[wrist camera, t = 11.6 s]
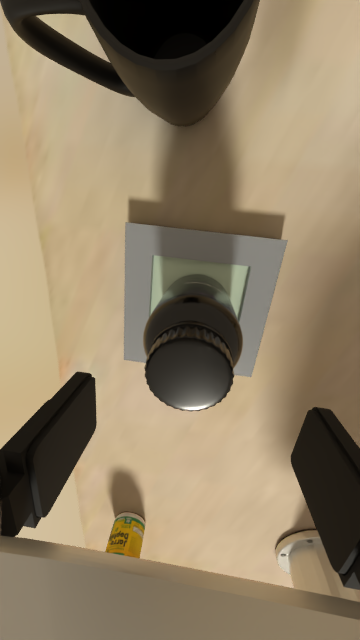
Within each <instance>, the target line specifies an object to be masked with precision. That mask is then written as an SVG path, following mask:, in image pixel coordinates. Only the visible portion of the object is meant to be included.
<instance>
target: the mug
mask: <svg viewBox="0 0 360 640" xmlns="http://www.w3.org/2000/svg"><path fill="white" fill-rule="evenodd" d="M0 2H1V5H2V8H3V11H4V14H5V16H6V18H7V20H8V21H9V23H10V25H11V26H12V28H13V30H14V31H15V32H16V33H17V34H18V36H19V37H20V38H21V39H22V40H24V41H25V42H26V43H27V44H28V45H29V46H31V47H32V48H33V49H35V50H36V51H38V52H39V53H41V54H42V55H44V56H46V57H48V58H49V59H51V60H53V61H55V62H57V63H58V64H60V65H62V66H64V67H66V68H68V69H70V70H72V71H74V72H76V73H78V74H80V75H82V76H84V77H86V78H88V79H90V80H92V81H94V82H96V83H98V84H100V85H102V86H104V87H106V88H108V89H110V90H113V91H115V92H117V93H120V94H123V95H126V96H130V97H136V98H137V99H138V100H139V101H140V102H141V103H142V104H143V105H144V106H145V107H146V108H147V109H148V110H150V111H151V112H152V113H154V114H156V115H157V116H159V117H161V118H162V119H164V120H165V121H167V122H169V123H170V124H173V125H176V126H188V125H192V124H195V123H196V122H198V121H200V120H201V119H202V118H203V117H204V116H205V115H207V114H208V112H209V111H210V109H211V108H212V107H213V106H214V105H215V104H216V103H217V101H218V100H219V98H220V97H221V95H222V94H223V92H224V91H225V90H226V88H227V86H228V85H229V83H230V81H231V80H232V78H233V76H234V74H235V72H236V69H237V67H238V65H239V63H240V61H241V58H242V56H243V54H244V51H245V49H246V46H247V44H248V41H249V39H250V35H251V31H252V28H253V24H254V20H255V17H256V13H257V9H258V6H259V2H260V0H0ZM44 14H79V15H85V16H86V18H87V20H88V22H89V23H90V25H91V27H92V29H93V31H94V33H95V35H96V37H97V38H98V40H99V42H100V44H101V46H102V48H103V50H104V51H105V53H106V55H107V57H108V59H109V60H110V62H111V63H109V62H107V61H105V60H103V59H101V58H100V57H98V56H96V55H94V54H92V53H91V52H89V51H87V50H86V49H84V48H82V47H81V46H79V45H77V44H76V43H74V42H72V41H71V40H69V39H68V38H66V37H65V36H63V35H62V34H60V33H58V32H57V31H55V30H54V29H53V28H51V27H50V26H48V25H47V24H45V23H44V22H43V21H41V20H40V19H39V18H38V17H36V15H44Z"/></svg>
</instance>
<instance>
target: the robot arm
mask: <svg viewBox="0 0 360 640" xmlns="http://www.w3.org/2000/svg"><path fill="white" fill-rule="evenodd" d="M95 429H96V392H95V378H94V377H92V375H91V374H90V373H84V372H76V373H75V374H74V375H73V376H72V377H71V378H70V379H69V381H68V382H67V383H66V384H65V385H64V386H63V387H62V388H61V389H60V390H59V391H58V392H57V393H56V394H55V395H54V396H53V397H52V398H51V399H50V400H48V401H47V402H46V403H45V404H44V405H43V406H42V407H41V408H40V409H39V410H38V411H37V412H36V413H35V414H34V415H33V416H32V417H31V418H30V419H29V420H28V421H27V422H26V423H25V424H24V426H22V428H21V429H20V430H19V431H18V432H17V433H16V434H15V435H14V436H13V437H12V438H11V439H10V440H9V441H8V442H7V443H6V444H5V445H4V446H3V447H2V448H1V449H0V640H360V448H359V447H358V446H357V444H356V443H355V442H354V440H353V439H352V438H351V436H350V435H349V434H348V432H347V431H346V430H345V428H344V427H343V426H342V424H341V423H340V422H339V420H338V419H337V417H336V416H335V415H334V413H333V412H332V411H331V410H329V409H324V408H318V407H314V408H313V409H312V410H309V411H308V412H307V415H306V418H305V420H304V423H303V426H302V428H301V431H300V433H299V436H298V439H297V441H296V444H295V447H294V449H293V452H292V454H291V464H292V467H293V469H294V472H295V475H296V477H297V480H298V482H299V485H300V487H301V490H302V493H303V495H304V498H305V500H306V503H307V505H308V508H309V510H310V513H311V516H312V518H313V521H314V523H315V526H316V528H317V530H308V531H302V532H298V533H295V534H292V535H290V536H288V537H286V538H285V539H283V540H282V541H281V542H280V543H279V544H278V546H277V548H276V552H275V553H276V558H277V562H278V565H279V566H280V567H281V569H283V570H284V571H285V572H286V573H288V574H290V575H291V578H292V582H293V586H294V588H289V587H284V586H279V585H274V584H269V583H264V582H259V581H254V580H249V579H243V578H238V577H233V576H228V575H223V574H218V573H213V572H207V571H202V570H197V569H192V568H187V567H181V566H176V565H171V564H166V563H161V562H155V561H150V560H145V559H139V558H134V557H129V556H123V555H118V554H113V553H107V552H102V551H97V550H91V549H86V548H81V547H75V546H69V545H63V544H56V543H51V542H45V541H39V540H33V539H26V538H18V537H15V536H16V535H18V533H19V532H20V530H21V528H22V527H23V526H26V527H31V528H36V526H37V524H38V522H39V521H40V519H41V517H46V516H47V515H48V513H49V512H50V510H51V508H52V506H53V504H54V503H55V501H56V499H57V497H58V496H59V494H60V492H61V490H62V489H63V487H64V485H65V483H66V481H67V480H68V478H69V476H70V474H71V473H72V471H73V469H74V467H75V465H76V464H77V462H78V460H79V458H80V457H81V455H82V453H83V451H84V449H85V448H86V446H87V444H88V442H89V441H90V439H91V437H92V435H93V433H94V431H95Z"/></svg>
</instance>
